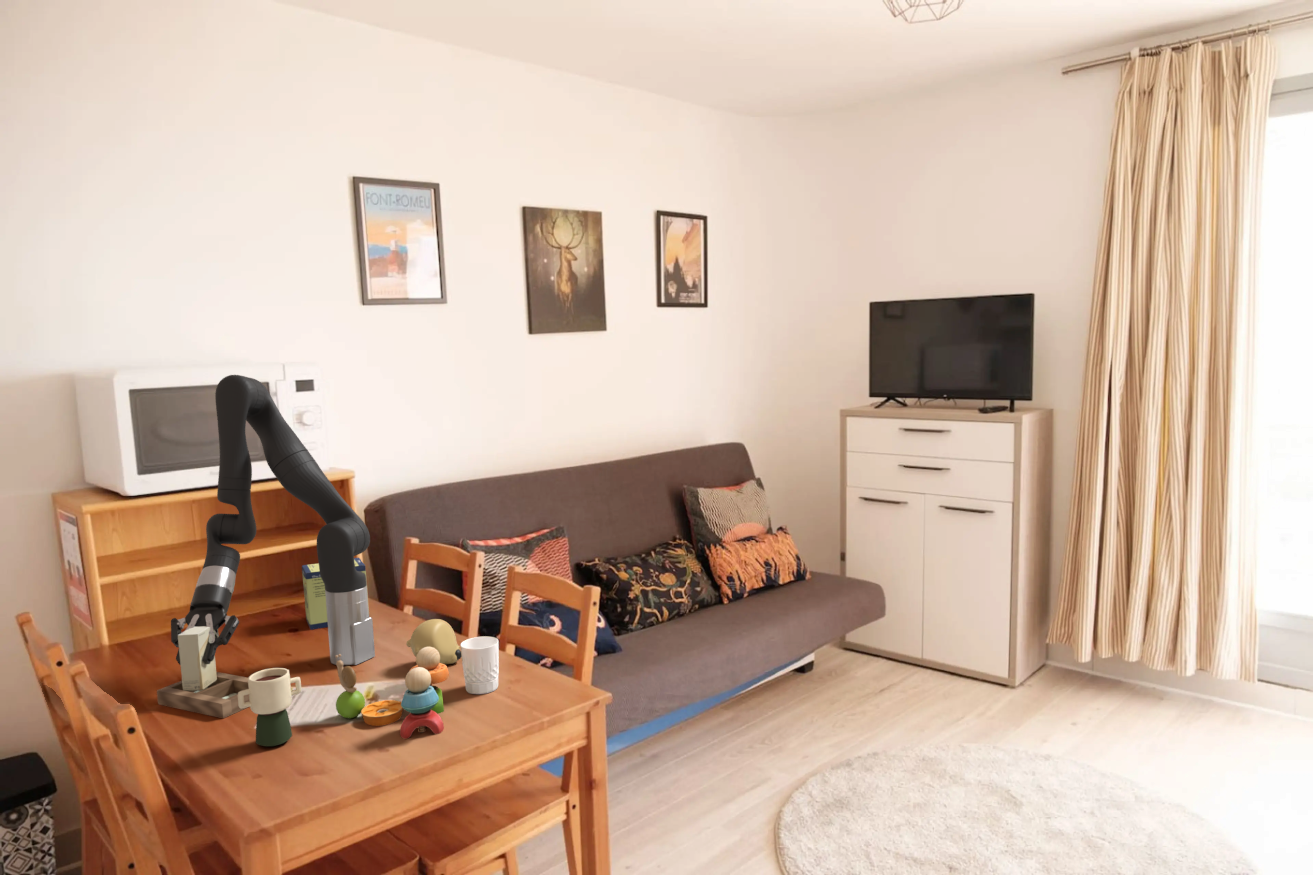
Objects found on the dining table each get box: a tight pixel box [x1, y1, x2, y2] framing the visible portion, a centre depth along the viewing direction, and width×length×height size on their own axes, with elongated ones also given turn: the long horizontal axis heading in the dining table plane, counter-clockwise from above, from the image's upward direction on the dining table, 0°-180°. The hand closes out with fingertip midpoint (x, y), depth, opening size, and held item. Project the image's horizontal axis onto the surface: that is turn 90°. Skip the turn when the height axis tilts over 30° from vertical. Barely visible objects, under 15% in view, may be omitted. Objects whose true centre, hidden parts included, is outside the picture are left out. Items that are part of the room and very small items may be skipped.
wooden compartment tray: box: [156, 671, 250, 719], centre depth 179 cm, size 20×12×3 cm, turn 65°
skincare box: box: [178, 626, 217, 691], centre depth 181 cm, size 6×4×12 cm
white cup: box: [459, 636, 500, 695], centre depth 180 cm, size 8×8×10 cm
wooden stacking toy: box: [360, 647, 450, 740], centre depth 165 cm, size 18×17×12 cm
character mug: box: [238, 667, 302, 747], centre depth 157 cm, size 11×7×13 cm, turn 128°
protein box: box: [301, 557, 370, 631], centre depth 232 cm, size 10×16×16 cm
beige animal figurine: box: [406, 618, 462, 665], centre depth 196 cm, size 10×12×11 cm
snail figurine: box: [335, 654, 366, 719], centre depth 168 cm, size 5×6×12 cm
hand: (193, 662), depth 179 cm, fingers closed on skincare box, 4 cm apart
